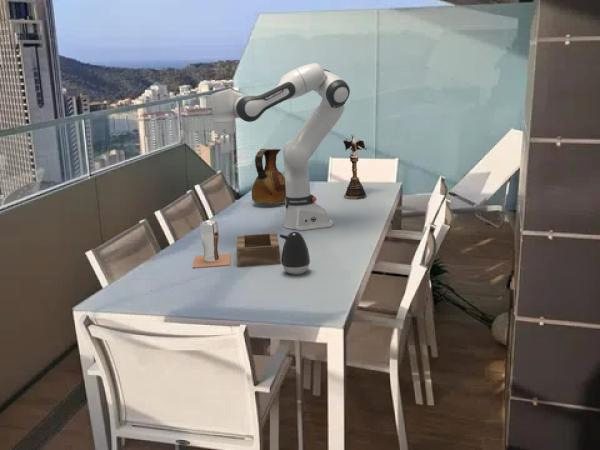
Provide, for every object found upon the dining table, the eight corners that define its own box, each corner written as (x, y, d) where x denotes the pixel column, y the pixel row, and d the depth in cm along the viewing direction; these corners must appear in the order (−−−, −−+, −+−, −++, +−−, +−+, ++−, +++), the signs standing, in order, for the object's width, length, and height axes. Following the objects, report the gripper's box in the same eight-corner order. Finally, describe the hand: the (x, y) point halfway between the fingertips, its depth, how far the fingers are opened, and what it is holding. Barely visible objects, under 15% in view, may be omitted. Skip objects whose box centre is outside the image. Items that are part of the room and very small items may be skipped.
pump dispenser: (282, 268, 228) (280, 228, 224) (310, 267, 228) (308, 227, 224) (280, 277, 218) (278, 236, 214) (310, 276, 218) (308, 235, 214)
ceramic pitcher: (296, 201, 333) (293, 146, 325) (275, 210, 316) (271, 151, 309) (266, 198, 343) (263, 144, 335) (244, 206, 327) (240, 150, 319)
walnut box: (238, 252, 249) (236, 235, 248) (277, 249, 251) (276, 232, 249) (237, 266, 232) (236, 248, 230) (280, 263, 233) (279, 245, 231)
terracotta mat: (230, 254, 247) (230, 253, 247) (229, 265, 234) (229, 264, 234) (195, 257, 246) (195, 255, 246) (192, 268, 233) (192, 267, 233)
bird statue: (346, 192, 348) (344, 130, 339) (369, 193, 345) (367, 130, 335) (339, 199, 333) (337, 134, 324) (363, 199, 329) (361, 133, 320)
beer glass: (224, 257, 242) (220, 220, 238) (215, 263, 236) (212, 225, 232) (208, 256, 244) (204, 219, 240) (199, 262, 238) (196, 224, 234)
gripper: (232, 131, 243) (234, 165, 247) (232, 125, 263) (235, 158, 267) (216, 131, 243) (218, 166, 246) (218, 126, 263) (220, 159, 266)
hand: (227, 162), depth 257 cm, fingers open, 8 cm apart
